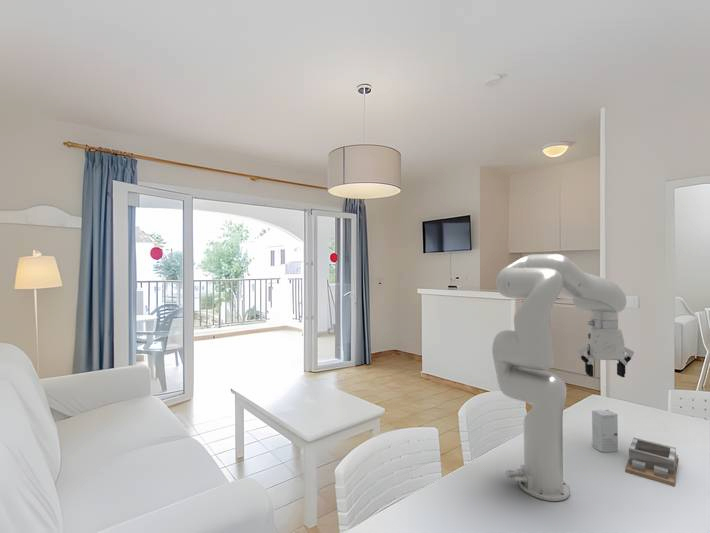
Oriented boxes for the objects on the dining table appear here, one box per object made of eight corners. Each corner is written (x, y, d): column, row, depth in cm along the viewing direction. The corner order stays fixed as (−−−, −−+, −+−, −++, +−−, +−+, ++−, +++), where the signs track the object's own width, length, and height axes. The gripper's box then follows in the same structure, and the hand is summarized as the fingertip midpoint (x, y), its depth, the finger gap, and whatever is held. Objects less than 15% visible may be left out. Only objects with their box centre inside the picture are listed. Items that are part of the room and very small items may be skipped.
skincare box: (601, 452, 122) (601, 415, 122) (591, 446, 126) (591, 410, 126) (619, 451, 123) (618, 414, 123) (608, 445, 127) (607, 409, 127)
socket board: (674, 486, 103) (674, 468, 103) (625, 471, 110) (625, 454, 110) (678, 458, 118) (678, 442, 118) (634, 447, 125) (634, 432, 125)
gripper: (582, 326, 123) (583, 378, 123) (639, 326, 121) (640, 379, 121) (571, 322, 131) (572, 372, 131) (625, 322, 129) (626, 373, 129)
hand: (605, 375), depth 126 cm, fingers open, 9 cm apart
